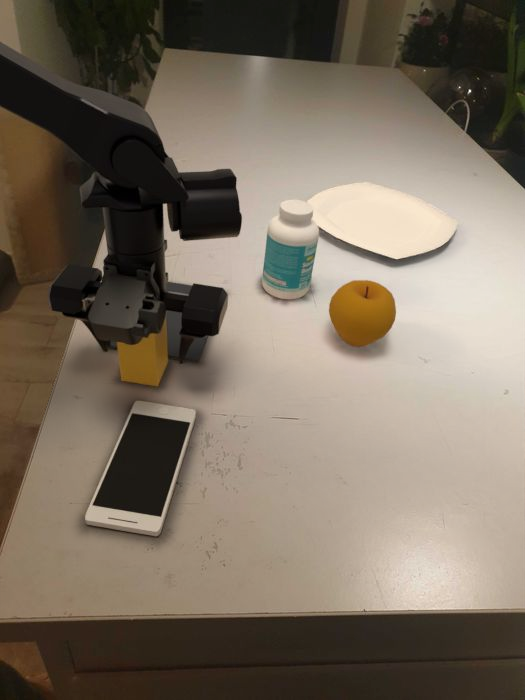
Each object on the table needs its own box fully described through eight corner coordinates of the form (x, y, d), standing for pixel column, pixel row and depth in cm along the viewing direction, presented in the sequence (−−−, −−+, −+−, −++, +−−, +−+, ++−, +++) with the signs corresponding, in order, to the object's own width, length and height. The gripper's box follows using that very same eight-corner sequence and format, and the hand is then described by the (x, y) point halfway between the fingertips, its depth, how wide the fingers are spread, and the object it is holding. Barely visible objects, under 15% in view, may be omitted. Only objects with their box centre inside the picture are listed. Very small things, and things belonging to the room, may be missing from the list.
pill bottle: (306, 305, 79) (321, 223, 70) (257, 297, 79) (266, 214, 70) (310, 278, 84) (325, 199, 75) (265, 271, 85) (274, 191, 76)
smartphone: (196, 414, 60) (196, 408, 60) (159, 537, 49) (159, 531, 48) (135, 404, 60) (135, 399, 60) (84, 524, 49) (82, 519, 48)
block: (121, 380, 63) (114, 322, 57) (133, 356, 67) (127, 298, 61) (157, 386, 63) (154, 328, 57) (167, 362, 67) (165, 304, 61)
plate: (398, 280, 86) (401, 270, 85) (278, 217, 99) (279, 207, 98) (473, 232, 102) (477, 223, 101) (361, 183, 115) (363, 174, 114)
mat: (107, 348, 67) (106, 345, 67) (145, 280, 80) (145, 278, 79) (198, 363, 67) (198, 360, 67) (223, 293, 79) (223, 290, 79)
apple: (352, 312, 78) (365, 260, 72) (400, 343, 74) (418, 291, 68) (310, 334, 73) (320, 280, 68) (358, 369, 69) (374, 315, 63)
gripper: (6, 268, 47) (38, 390, 58) (209, 300, 47) (205, 418, 57) (59, 214, 56) (79, 328, 66) (232, 240, 55) (225, 351, 65)
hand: (144, 356), depth 63 cm, fingers open, 9 cm apart
